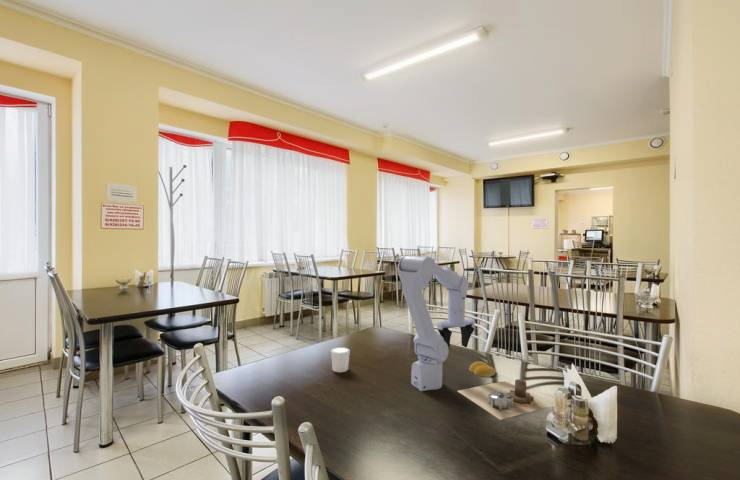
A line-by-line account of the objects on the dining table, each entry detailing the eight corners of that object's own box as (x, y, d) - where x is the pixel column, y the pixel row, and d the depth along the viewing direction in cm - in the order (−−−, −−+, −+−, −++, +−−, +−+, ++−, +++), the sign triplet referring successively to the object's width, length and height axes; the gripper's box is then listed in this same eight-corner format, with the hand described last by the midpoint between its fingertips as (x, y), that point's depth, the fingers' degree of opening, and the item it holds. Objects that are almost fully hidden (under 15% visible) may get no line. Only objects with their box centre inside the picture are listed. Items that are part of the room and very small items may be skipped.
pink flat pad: (520, 408, 98) (520, 407, 98) (500, 396, 105) (500, 395, 105) (540, 403, 101) (540, 402, 101) (519, 392, 108) (519, 391, 108)
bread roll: (479, 381, 119) (480, 369, 119) (465, 370, 128) (466, 360, 127) (500, 378, 121) (501, 367, 121) (485, 368, 130) (486, 358, 130)
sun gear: (500, 412, 96) (500, 401, 96) (483, 401, 102) (483, 391, 102) (518, 408, 98) (518, 397, 98) (500, 397, 104) (501, 387, 104)
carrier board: (500, 423, 92) (500, 419, 92) (456, 394, 109) (456, 390, 109) (553, 408, 100) (553, 405, 100) (505, 383, 117) (505, 380, 117)
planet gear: (521, 406, 98) (521, 388, 98) (502, 396, 105) (502, 378, 105) (538, 402, 101) (539, 384, 101) (519, 392, 108) (519, 375, 108)
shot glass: (348, 373, 123) (349, 353, 123) (329, 372, 124) (329, 353, 123) (350, 365, 130) (350, 347, 130) (331, 365, 130) (332, 346, 130)
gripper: (446, 313, 117) (445, 353, 117) (480, 310, 123) (479, 348, 123) (434, 309, 123) (433, 347, 124) (467, 306, 129) (466, 342, 129)
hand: (455, 347), depth 124 cm, fingers open, 7 cm apart
